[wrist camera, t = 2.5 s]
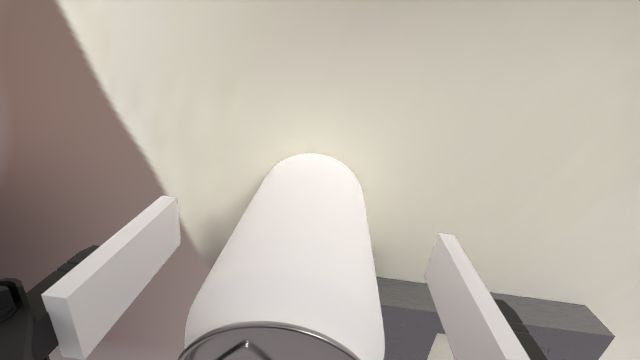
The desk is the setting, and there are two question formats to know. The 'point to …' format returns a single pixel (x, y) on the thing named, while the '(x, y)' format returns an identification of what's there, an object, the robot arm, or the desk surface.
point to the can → (293, 274)
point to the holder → (537, 315)
